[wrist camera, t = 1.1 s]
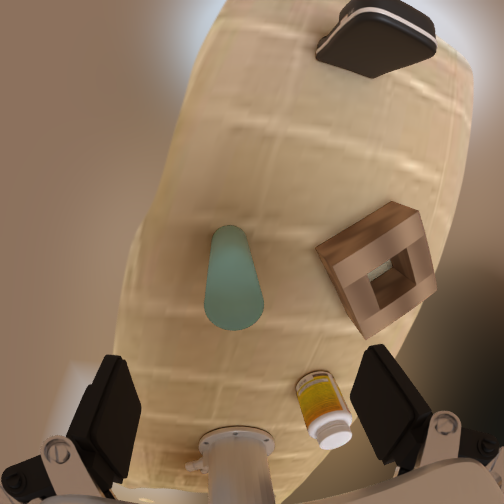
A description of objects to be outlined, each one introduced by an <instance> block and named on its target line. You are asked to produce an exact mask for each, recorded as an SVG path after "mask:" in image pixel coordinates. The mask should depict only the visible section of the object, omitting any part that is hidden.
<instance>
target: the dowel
mask: <svg viewBox="0 0 504 504" xmlns="http://www.w3.org/2000/svg"><path fill="white" fill-rule="evenodd" d="M204 309H205V313H206V315H207V317H208V318H209V320H210V321H211V322H212V323H213V324H214V325H216V326H218V327H220V328H222V329H225V330H232V331H235V330H242V329H245V328H248V327H250V326H251V325H253V324H254V323H255V322H256V321H257V320H258V319H259V318H260V316H261V315H262V312H263V309H264V300H263V296H262V292H261V289H260V285H259V281H258V278H257V274H256V270H255V267H254V263H253V260H252V256H251V252H250V249H249V245H248V241H247V238H246V235H245V233H244V232H243V231H242V230H241V229H240V228H238V227H236V226H232V225H228V226H223V227H221V228H219V229H218V230H217V231H216V232H215V233H214V235H213V238H212V243H211V251H210V258H209V266H208V274H207V283H206V292H205V300H204Z"/></svg>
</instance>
